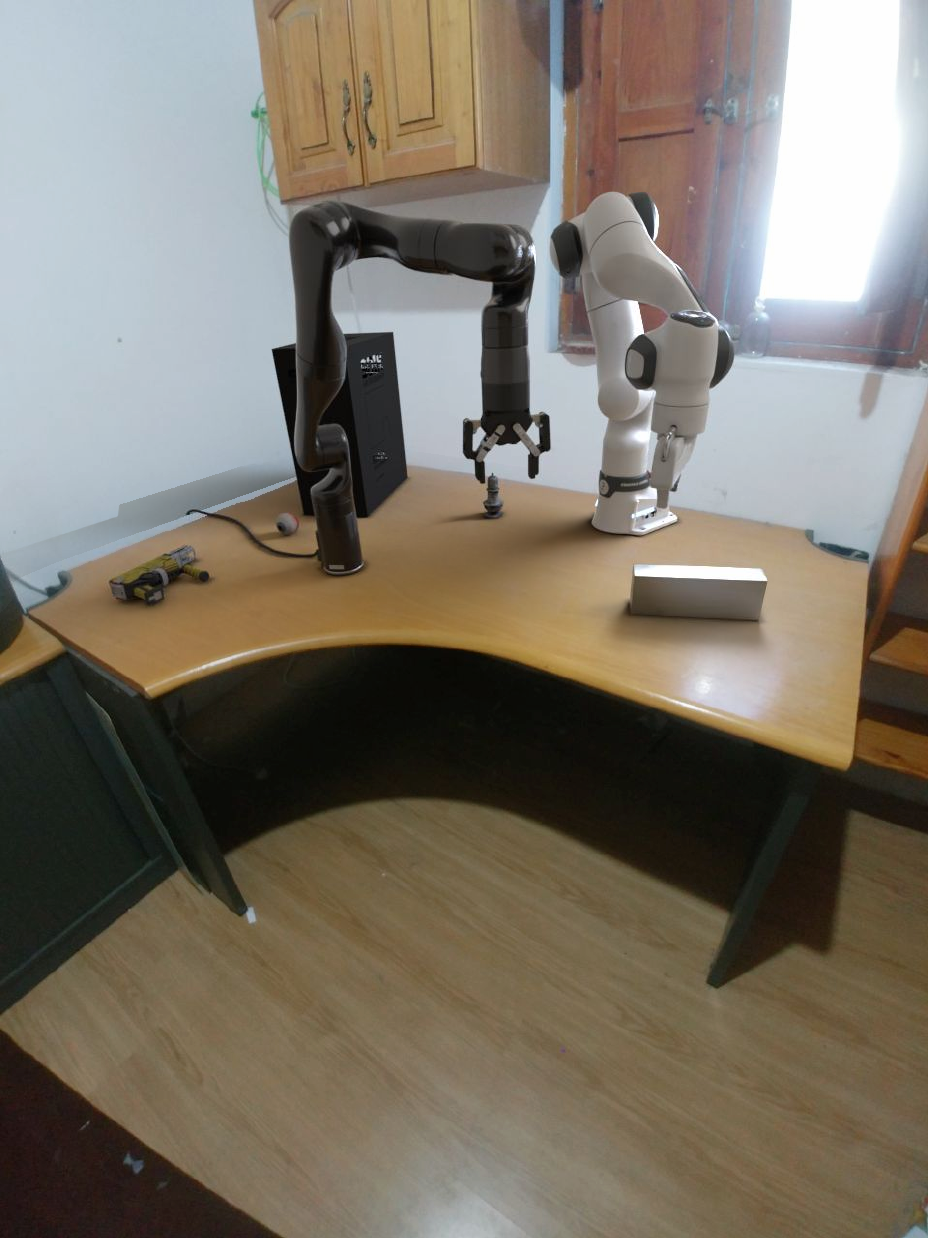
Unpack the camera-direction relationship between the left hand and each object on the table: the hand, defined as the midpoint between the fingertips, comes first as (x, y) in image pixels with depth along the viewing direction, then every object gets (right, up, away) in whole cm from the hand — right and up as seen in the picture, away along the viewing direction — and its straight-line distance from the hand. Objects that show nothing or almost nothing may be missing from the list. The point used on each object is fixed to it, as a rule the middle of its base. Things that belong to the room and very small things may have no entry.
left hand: (507, 480), depth 101 cm
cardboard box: (-41, +16, +90) cm, 100 cm away
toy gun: (-75, -15, +40) cm, 86 cm away
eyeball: (-55, 0, +64) cm, 84 cm away
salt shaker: (+1, +6, +69) cm, 69 cm away
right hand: (+29, -2, +7) cm, 30 cm away
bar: (+38, -22, +17) cm, 47 cm away
